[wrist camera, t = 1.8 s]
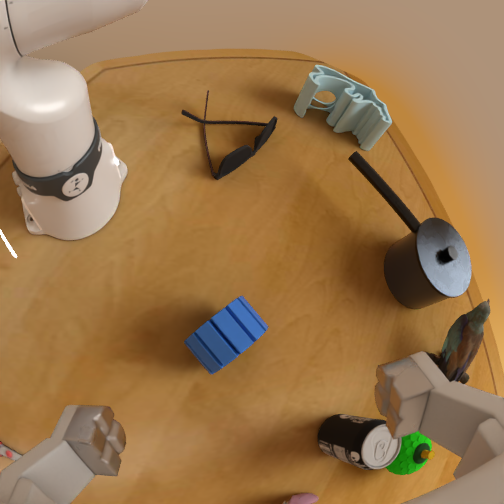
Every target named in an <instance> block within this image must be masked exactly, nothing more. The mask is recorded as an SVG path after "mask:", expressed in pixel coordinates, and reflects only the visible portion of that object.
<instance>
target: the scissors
mask: <svg viewBox="0 0 504 504" xmlns="http://www.w3.org/2000/svg"><path fill="white" fill-rule="evenodd" d="M2 455H3V456H5V457H7V458H9V459H12V460H15V461H16V460H17V459H19V458H20V457H21V456H22V455H20V454H18V453H17V452H16V451H14V450H11V449H10V448H9V447H6V446H4V445H3V444H2V442H1V441H0V456H2Z"/></svg>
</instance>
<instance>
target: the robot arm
mask: <svg viewBox="0 0 504 504" xmlns="http://www.w3.org/2000/svg"><path fill="white" fill-rule="evenodd" d="M147 1H148V0H0V139H1V141H2V142H3V144H4V145H5V147H6V149H7V150H8V152H9V153H10V155H11V157H12V159H13V165H14V168H15V171H14V172H13V173H12V176H13V180H14V182H15V184H16V185H19V187H18V188H17V192H18V194H19V196H21V200H22V205H23V210H24V216H25V221H26V225H27V229H28V231H29V232H30V233H31V234H34V235H40V234H48V235H51V236H53V237H55V238H58V239H62V240H77V239H82V238H85V237H88V236H90V235H92V234H94V233H95V232H97V231H98V230H100V229H101V228H102V227H103V226H104V225H106V223H107V222H108V221H109V220H110V219H111V217H112V216H113V214H114V213H115V211H116V209H117V206H118V203H119V199H120V190H121V184H122V182H123V181H124V179H125V177H126V175H127V172H128V169H127V166H126V164H125V163H124V162H122V161H121V160H120V159H119V158H118V157H117V156H115V154H114V150H113V147H112V145H111V143H107V142H106V141H105V140H104V139H103V138H101V133H100V130H99V127H98V125H97V122H96V120H95V119H94V117H93V116H92V112H91V106H90V101H89V95H88V90H87V84H86V82H85V80H84V78H83V76H82V75H81V74H80V73H79V72H78V71H77V70H76V69H75V68H73V67H72V66H70V65H68V64H66V63H64V62H61V61H56V60H44V59H36V58H32V57H29V56H27V54H29V53H31V52H34V51H36V50H39V49H41V48H44V47H47V46H49V45H52V44H55V43H58V42H60V41H64V40H67V39H70V38H73V37H76V36H79V35H82V34H86V33H89V32H92V31H94V30H97V29H99V28H101V27H104V26H106V25H108V24H111V23H113V22H115V21H118V20H120V19H122V18H125V17H127V16H129V15H132V14H134V13H136V12H138V11H140V9H141V8H142V7H143V6H144V5H145V4H146V2H147ZM32 219H33V221H31V220H32ZM0 235H1V237H2V238H3V240H4V242H5V243H6V245H7V247H8V248H9V250H10V251H11V253H12V255H13V256H14V257H15V258H16V257H17V256H16V254H15V252H14V251H13V249H12V248H11V246H10V245H9V243H8V241H7V240H6V238H5V236H4V235H3V233H2V231H1V230H0ZM376 377H377V378H378V380H379V382H378V383H377V384H376V386H375V401H376V404H377V408H378V410H379V412H380V414H381V415H383V416H386V417H387V419H386V426H387V428H388V430H389V432H390V434H391V436H392V438H393V440H394V439H397V438H400V437H403V436H406V435H409V434H412V433H415V432H417V431H419V433H421V434H422V435H424V436H426V437H427V438H429V439H431V440H432V441H434V442H436V443H438V444H439V445H441V446H443V447H444V448H446V449H448V450H449V451H451V452H453V453H455V454H456V455H458V456H460V457H462V459H461V461H460V462H459V464H458V466H457V468H456V469H455V472H454V474H453V475H454V477H455V478H456V480H454V481H452V482H450V483H448V484H446V485H444V486H441V487H439V488H437V489H435V490H433V491H431V492H428V493H426V494H424V495H421V496H419V497H417V498H414V499H412V500H409V501H407V502H404V503H402V504H504V398H503V397H500V396H497V395H494V394H491V393H488V392H485V391H482V390H479V389H476V388H473V387H470V386H468V385H465V384H462V383H459V382H456V381H452V382H449V380H448V379H447V378H446V377H445V375H444V374H443V373H442V372H441V371H440V369H439V368H438V367H437V366H436V364H435V363H434V362H433V361H432V360H431V358H430V357H429V356H428V355H427V354H426V352H424V351H421V352H418V353H415V354H412V355H409V356H408V357H404V358H401V359H398V360H394V361H391V362H388V363H385V364H382V365H378V367H377V370H376ZM113 417H114V413H113V411H112V410H111V408H110V407H108V406H91V405H68V406H66V407H65V409H64V411H63V413H62V415H61V417H60V419H59V421H58V423H57V425H56V427H55V429H54V431H53V433H52V435H51V437H50V439H49V438H46V439H45V440H43V441H42V442H41V443H39V444H38V445H37V446H35V447H34V448H32V449H31V450H30V451H28V452H27V453H26V454H24V455H23V456H21V457H20V458H19V459H17V460H16V461H14V462H13V463H12V464H10V465H9V466H8V467H6V468H5V469H3V470H2V472H1V474H0V504H70V503H71V502H72V501H73V500H74V499H75V498H76V497H77V495H78V494H79V493H80V492H81V491H82V490H83V489H84V488H85V487H86V486H87V485H88V483H89V482H90V481H91V480H92V479H93V478H94V477H95V475H107V476H117V475H118V471H119V468H120V464H121V459H120V457H119V454H120V453H121V452H123V451H124V449H125V445H126V436H125V432H124V429H123V427H122V426H121V424H120V423H119V422H117V421H116V420H114V419H113Z"/></svg>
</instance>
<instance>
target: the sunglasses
mask: <svg viewBox="0 0 504 504" xmlns="http://www.w3.org/2000/svg"><path fill="white" fill-rule="evenodd" d="M208 93H209V90H208V91H207V98H206V106H205V115H204V120H202V119H199V118H197V117H196V116H194V115H192V114H190V113H189V112H187V111H185V110H182V115H185V116H187V117H189V118H191V119H193V120H195V121H197V122H200V123H204V138H205V146H206V151H207V156H208V161H209V165H210V169H211V172H212V176H214V178H215V179H217V180H218V179H220V178H222V177H224V176H225V175H227V174H229V173H230V172H232V171H234V170H235V169H236V168H238V167H239V166H240V165H242V164H243V163H244V162H246V161H247V160H248V159H249V158H250V157H252V156H254V155H255V153H256V152H257V151H258V150H259V149H260V148H261V147H262V146H263V144H264V143H265V142H266V141H267V139H268V138H269V137H270V135H271V134H272V132H273V131H274V129H275V126H276V123H277V117H275V116H274V117H273V118H272V119H271V121H270V122H269V123H259V122H247V121H205V118H206V109H207V101H208ZM205 124H246V125H258V126H266V127H265V128H264V130H263V131H262V133H261V134H260V135H259V136H257V137H256V138H255V143H254V150H253V152H252V149H251V147H250V146H248V145H244V146H242V147H240V148H238V149H236V150H234V151H233V152H231V153H230V154H229V155H227V156H226V157H225V158H224V159H223V160H222V162H221V164H220V166H219V170H218V173H214V172H213V168H212V164H211V160H210V156H209V152H208V147H207V141H206V134H205Z"/></svg>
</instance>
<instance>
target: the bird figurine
mask: <svg viewBox="0 0 504 504" xmlns="http://www.w3.org/2000/svg"><path fill="white" fill-rule="evenodd" d="M489 314H490V306H489V299H488V301H484V302H482V303H481V304H479V305H478V306H477V307H475V308H474V309H473V310H472V311H470V312H468V313H467V314H464V315H461V316H460V317H459V318H458V319H457V320H456V321H455V323H454V324H453V325H452V326H451V328H450V329H449V331H448V334H447V337H446V339H445V342H444V345H443V348H442V353H441V356H440V357H439V356H437V355H435V354H433V353H427V352H426V354H427V355H428V356H429V357H430V358H431V360H432V361H433V362H434V363H435V364H436V365H438V368H439V369H440V371H441V372H442V373H443V374H444V375H445V377H446V378H447V379H448V380H449V382H452V381H456V382H458V381H460V382H461V383H462V384H465V383H467V382H468V380H469V375H468V374H467V373H465V372H466V370H467V369H468V367H469V366H470V364H471V362H472V361H473V359H474V357H475V355H476V353H477V352H478V349H479V347H480V344H481V341H482V338H483V335H484V333H483V324H484V322H485V321H486V320H487V318H488V316H489Z"/></svg>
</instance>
